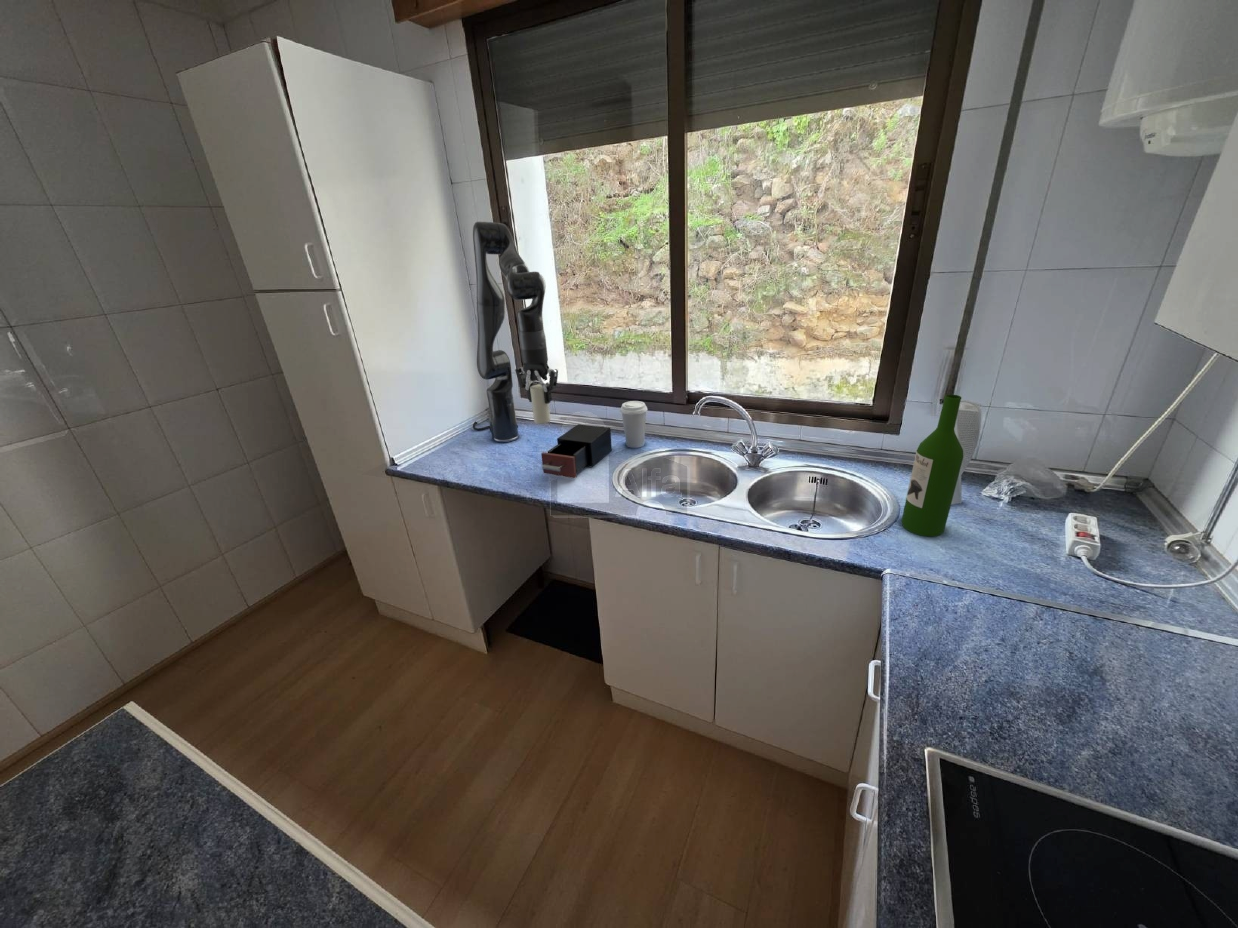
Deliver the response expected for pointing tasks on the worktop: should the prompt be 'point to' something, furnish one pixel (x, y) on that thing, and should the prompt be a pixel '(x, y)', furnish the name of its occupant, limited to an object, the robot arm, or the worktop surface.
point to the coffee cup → (634, 422)
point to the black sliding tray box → (590, 440)
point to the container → (539, 405)
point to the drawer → (566, 459)
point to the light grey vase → (966, 437)
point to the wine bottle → (934, 475)
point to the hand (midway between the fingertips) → (540, 402)
